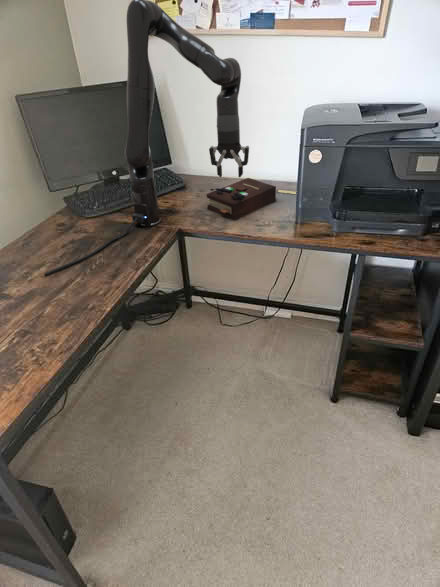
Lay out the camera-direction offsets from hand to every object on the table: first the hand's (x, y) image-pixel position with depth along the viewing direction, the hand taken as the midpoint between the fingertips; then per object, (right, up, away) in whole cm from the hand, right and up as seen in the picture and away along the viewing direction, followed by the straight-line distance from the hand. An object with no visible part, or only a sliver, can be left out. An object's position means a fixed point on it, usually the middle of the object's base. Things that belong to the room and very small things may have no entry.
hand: (230, 176), depth 143 cm
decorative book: (+6, -3, +32) cm, 33 cm away
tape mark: (+28, +5, +41) cm, 50 cm away
